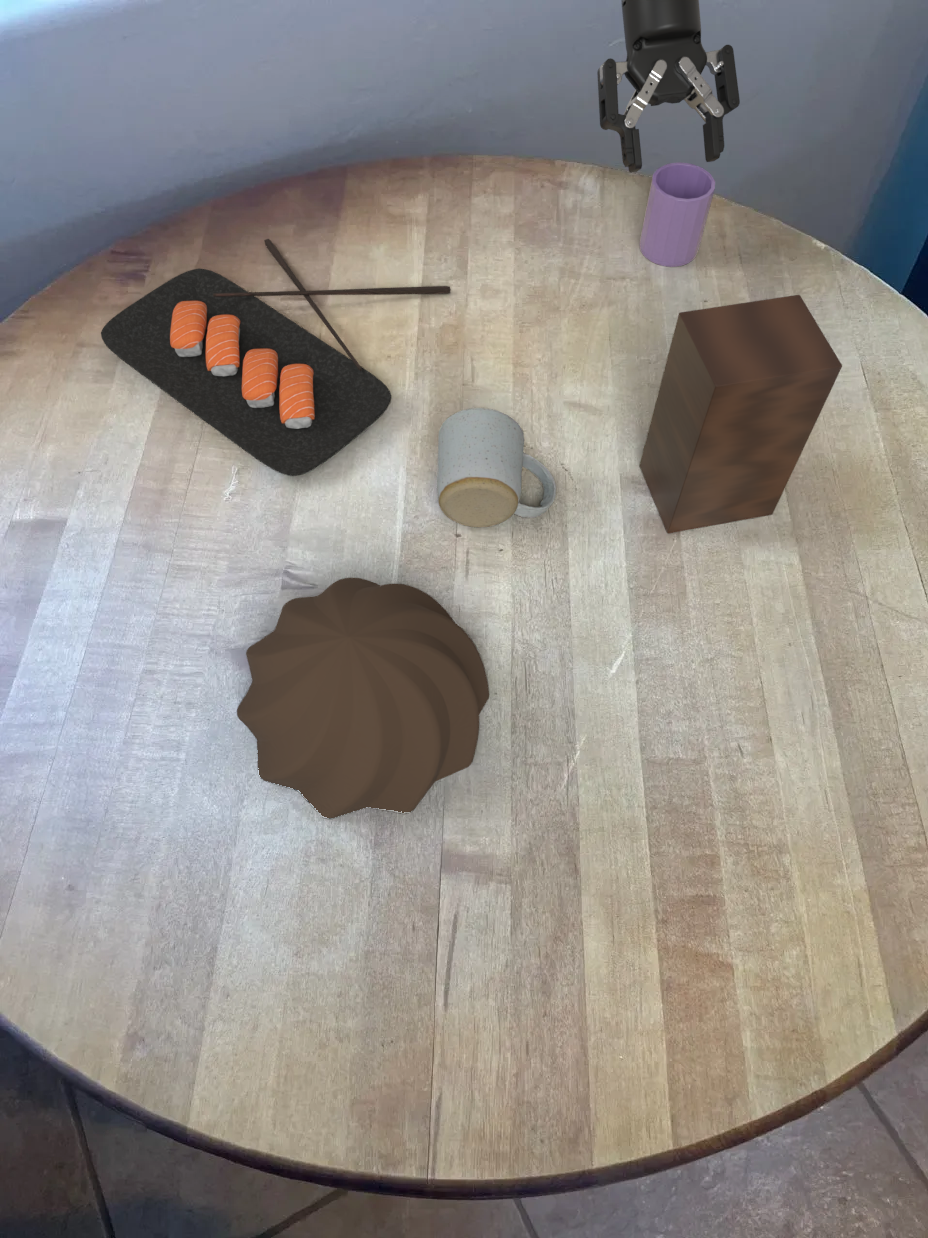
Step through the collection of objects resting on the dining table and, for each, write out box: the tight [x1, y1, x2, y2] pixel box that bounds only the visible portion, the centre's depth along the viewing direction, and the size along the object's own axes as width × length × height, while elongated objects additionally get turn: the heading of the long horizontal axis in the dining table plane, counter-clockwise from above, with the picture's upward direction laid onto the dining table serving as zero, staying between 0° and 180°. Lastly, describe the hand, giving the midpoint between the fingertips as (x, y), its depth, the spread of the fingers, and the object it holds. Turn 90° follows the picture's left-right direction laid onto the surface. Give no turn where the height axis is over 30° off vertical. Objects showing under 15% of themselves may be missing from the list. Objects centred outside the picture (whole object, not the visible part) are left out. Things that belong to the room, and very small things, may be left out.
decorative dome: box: [236, 577, 490, 819], centre depth 72 cm, size 19×20×10 cm
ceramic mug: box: [436, 407, 557, 528], centre depth 84 cm, size 11×8×8 cm
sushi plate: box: [100, 238, 451, 477], centre depth 96 cm, size 29×30×4 cm
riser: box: [638, 294, 843, 534], centre depth 80 cm, size 10×8×18 cm
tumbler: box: [638, 161, 716, 268], centre depth 102 cm, size 6×6×8 cm
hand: (674, 165), depth 100 cm, fingers open, 8 cm apart
